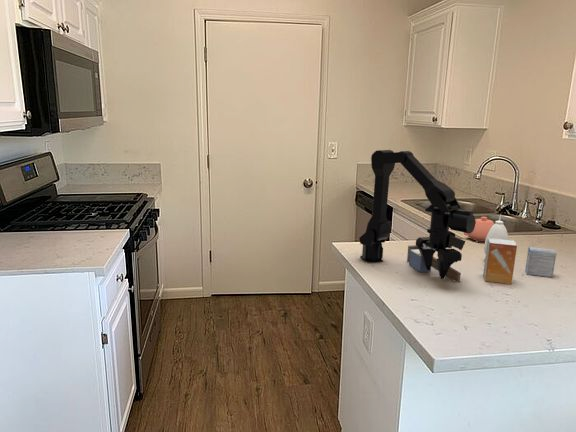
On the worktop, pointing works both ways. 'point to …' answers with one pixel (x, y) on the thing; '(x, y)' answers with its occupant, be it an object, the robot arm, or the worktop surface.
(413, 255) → the boxed book
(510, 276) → the small box
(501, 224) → the sauce bottle
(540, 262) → the medicine box
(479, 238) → the sugar bowl
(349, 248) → the worktop surface
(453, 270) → the book rack
